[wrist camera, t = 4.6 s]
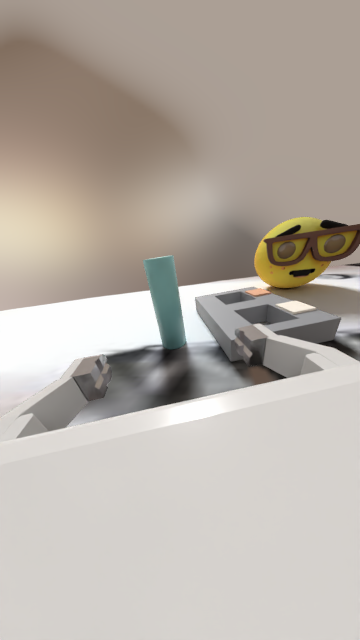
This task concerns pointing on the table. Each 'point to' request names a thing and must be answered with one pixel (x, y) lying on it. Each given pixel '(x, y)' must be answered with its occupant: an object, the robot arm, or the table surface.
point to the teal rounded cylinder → (166, 300)
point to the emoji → (303, 250)
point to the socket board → (263, 317)
